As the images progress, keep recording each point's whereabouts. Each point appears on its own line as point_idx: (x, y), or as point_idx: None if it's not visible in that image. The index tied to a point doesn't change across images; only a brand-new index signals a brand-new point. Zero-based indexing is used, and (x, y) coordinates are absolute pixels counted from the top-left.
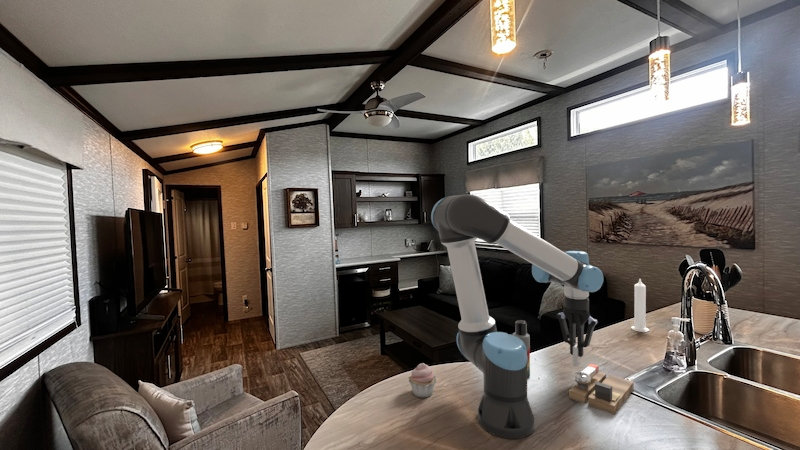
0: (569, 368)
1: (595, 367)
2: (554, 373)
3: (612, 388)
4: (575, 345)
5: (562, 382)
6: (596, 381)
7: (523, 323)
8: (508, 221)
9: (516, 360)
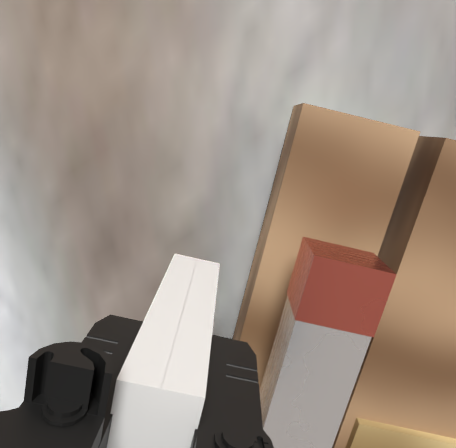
0: (113, 31)
1: (366, 324)
2: (39, 199)
3: (445, 374)
4: (122, 439)
5: (123, 312)
6: None
7: None
8: None
9: None
